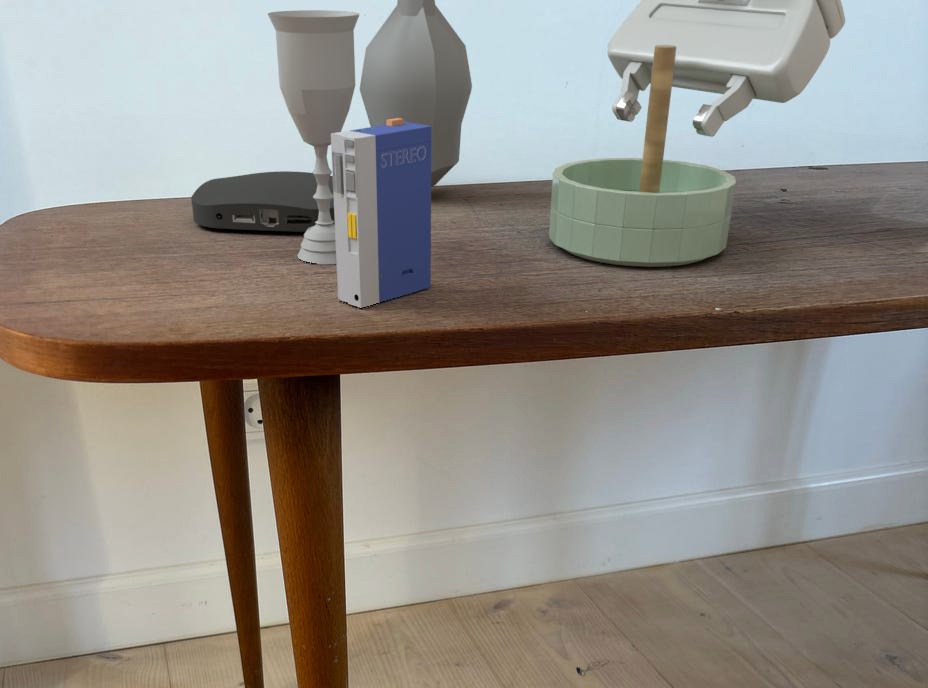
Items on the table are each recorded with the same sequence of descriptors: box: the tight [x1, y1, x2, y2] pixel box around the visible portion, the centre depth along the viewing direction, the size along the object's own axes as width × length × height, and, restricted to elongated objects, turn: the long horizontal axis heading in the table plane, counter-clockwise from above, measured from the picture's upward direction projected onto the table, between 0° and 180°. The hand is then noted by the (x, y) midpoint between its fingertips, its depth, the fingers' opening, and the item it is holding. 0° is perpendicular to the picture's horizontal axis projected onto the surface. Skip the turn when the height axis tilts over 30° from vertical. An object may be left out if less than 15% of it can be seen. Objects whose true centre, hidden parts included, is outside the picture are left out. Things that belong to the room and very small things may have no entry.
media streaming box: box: [190, 170, 335, 233], centre depth 101 cm, size 15×15×3 cm
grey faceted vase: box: [359, 0, 473, 188], centre depth 102 cm, size 11×11×30 cm
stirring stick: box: [639, 45, 677, 193], centre depth 92 cm, size 4×4×15 cm
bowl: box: [548, 157, 737, 268], centre depth 93 cm, size 16×16×6 cm
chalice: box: [267, 9, 360, 265], centre depth 85 cm, size 7×7×18 cm
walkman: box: [330, 118, 432, 308], centre depth 78 cm, size 8×3×12 cm, turn 138°
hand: (659, 123), depth 91 cm, fingers open, 8 cm apart
